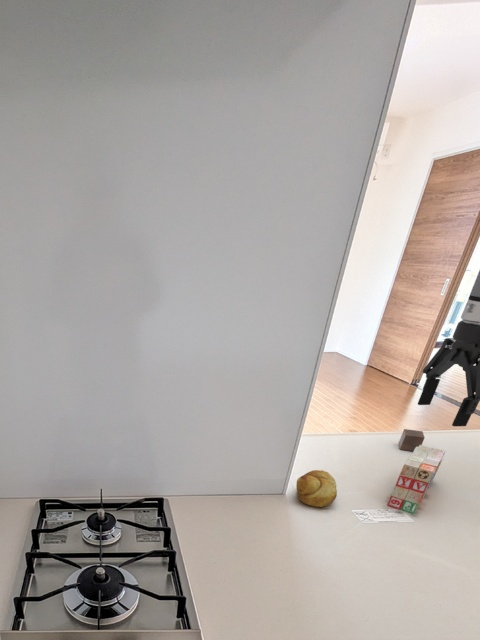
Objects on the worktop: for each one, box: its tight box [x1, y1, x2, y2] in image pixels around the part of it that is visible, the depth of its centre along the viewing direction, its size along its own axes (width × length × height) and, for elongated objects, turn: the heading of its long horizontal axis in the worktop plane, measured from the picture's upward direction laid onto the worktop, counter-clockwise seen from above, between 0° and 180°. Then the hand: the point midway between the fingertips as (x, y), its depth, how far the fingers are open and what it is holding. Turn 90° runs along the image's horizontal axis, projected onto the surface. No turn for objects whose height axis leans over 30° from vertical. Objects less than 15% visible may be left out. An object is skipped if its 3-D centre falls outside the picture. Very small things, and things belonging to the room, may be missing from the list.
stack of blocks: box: [386, 444, 447, 515], centre depth 113 cm, size 21×6×12 cm, turn 137°
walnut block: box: [398, 428, 426, 453], centre depth 136 cm, size 5×5×5 cm
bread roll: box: [295, 469, 338, 508], centre depth 114 cm, size 13×10×8 cm
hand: (440, 414), depth 106 cm, fingers open, 13 cm apart
